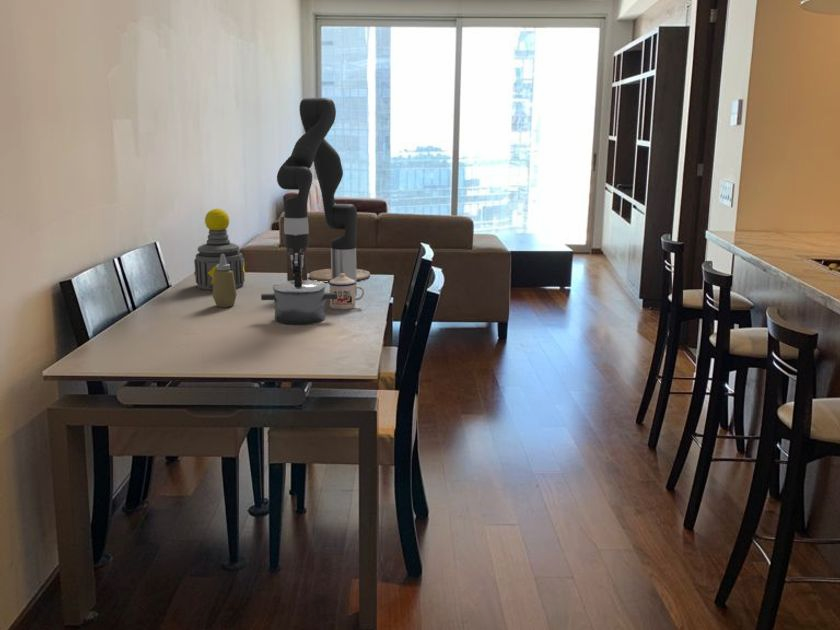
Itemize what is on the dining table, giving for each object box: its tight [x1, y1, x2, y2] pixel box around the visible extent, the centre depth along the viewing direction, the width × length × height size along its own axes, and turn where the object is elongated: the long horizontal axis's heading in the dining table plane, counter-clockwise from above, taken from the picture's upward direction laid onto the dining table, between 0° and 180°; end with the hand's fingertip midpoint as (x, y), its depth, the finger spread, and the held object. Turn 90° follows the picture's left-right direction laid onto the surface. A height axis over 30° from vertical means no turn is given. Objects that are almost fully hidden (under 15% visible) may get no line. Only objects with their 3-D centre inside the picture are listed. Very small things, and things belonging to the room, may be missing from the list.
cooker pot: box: [260, 289, 337, 326], centre depth 259 cm, size 16×24×10 cm, turn 95°
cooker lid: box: [272, 279, 326, 293], centre depth 257 cm, size 17×17×3 cm
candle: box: [286, 247, 308, 281], centre depth 293 cm, size 8×7×20 cm
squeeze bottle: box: [212, 254, 237, 308], centre depth 277 cm, size 8×8×18 cm
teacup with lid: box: [328, 273, 365, 310], centre depth 276 cm, size 12×9×12 cm
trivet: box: [308, 268, 371, 283], centre depth 332 cm, size 25×25×2 cm
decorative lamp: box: [193, 208, 246, 291], centre depth 310 cm, size 19×19×30 cm
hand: (298, 286), depth 253 cm, fingers closed
